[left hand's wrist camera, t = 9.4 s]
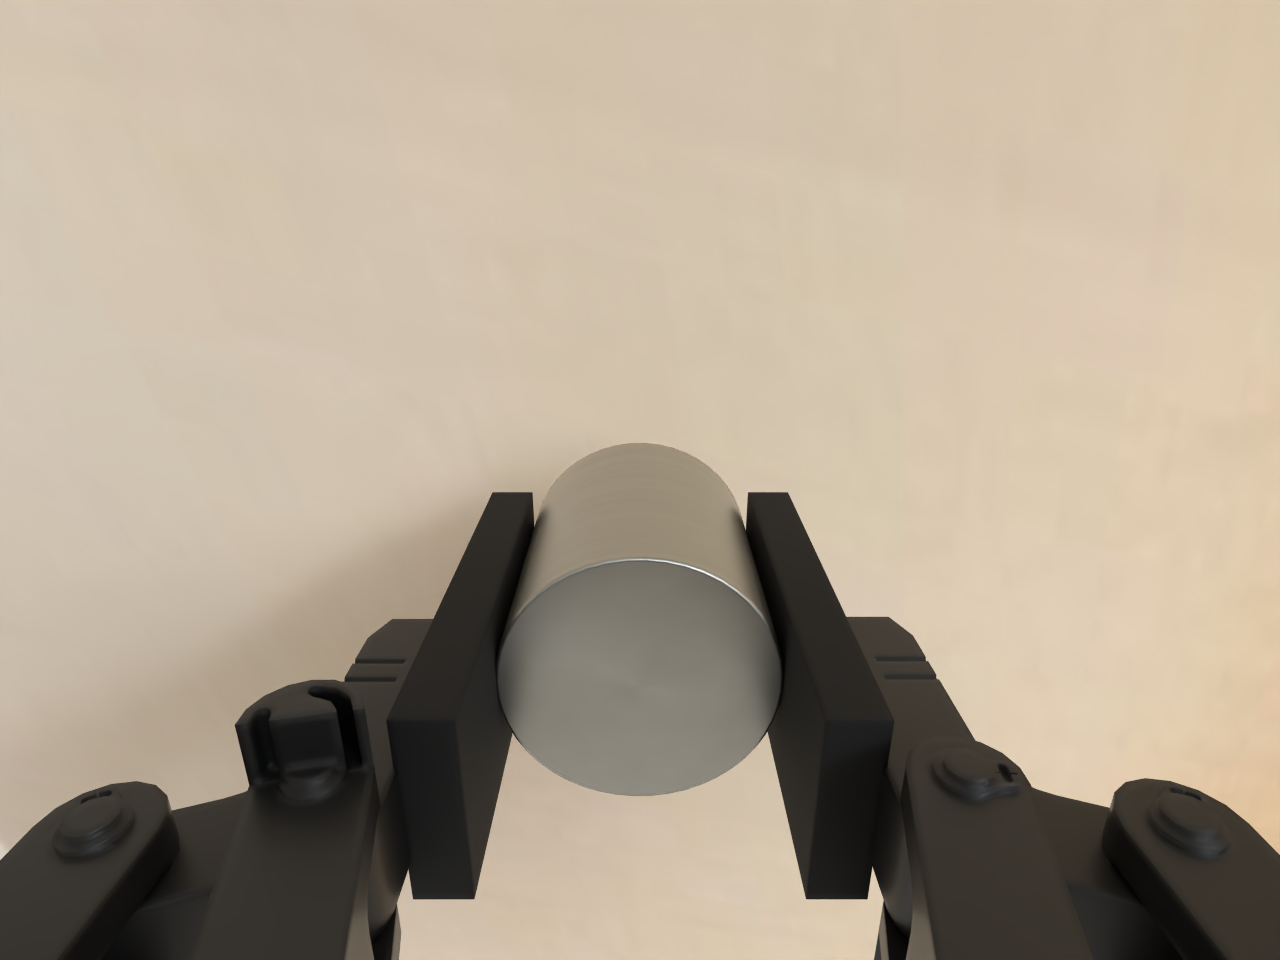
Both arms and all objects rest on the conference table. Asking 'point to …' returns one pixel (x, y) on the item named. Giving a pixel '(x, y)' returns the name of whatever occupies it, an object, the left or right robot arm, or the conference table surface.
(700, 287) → the conference table surface
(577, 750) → the tin
